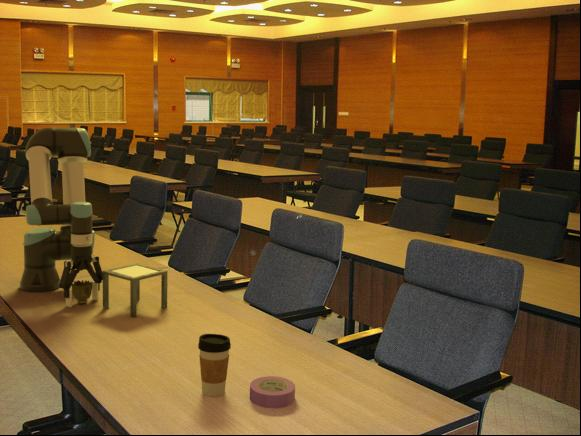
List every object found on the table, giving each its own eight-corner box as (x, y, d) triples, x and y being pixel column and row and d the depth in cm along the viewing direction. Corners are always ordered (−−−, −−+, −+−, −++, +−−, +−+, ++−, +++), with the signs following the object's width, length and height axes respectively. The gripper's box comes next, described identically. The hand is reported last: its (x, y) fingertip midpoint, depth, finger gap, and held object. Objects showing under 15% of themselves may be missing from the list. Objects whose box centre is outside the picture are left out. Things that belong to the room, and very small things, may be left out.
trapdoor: (111, 273, 243) (111, 270, 243) (136, 267, 253) (136, 265, 253) (133, 280, 237) (133, 277, 236) (159, 274, 246) (159, 271, 246)
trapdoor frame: (102, 308, 245) (102, 270, 243) (136, 299, 258) (137, 263, 256) (133, 317, 236) (133, 278, 234) (167, 307, 249) (167, 270, 247)
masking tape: (296, 409, 170) (297, 394, 170) (250, 408, 169) (250, 394, 169) (292, 389, 182) (293, 376, 181) (249, 389, 181) (249, 375, 180)
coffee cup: (198, 385, 182) (199, 331, 179) (229, 385, 182) (231, 332, 180) (196, 398, 173) (197, 342, 171) (229, 398, 174) (231, 343, 172)
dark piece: (86, 307, 246) (86, 285, 245) (67, 305, 247) (67, 284, 246) (96, 301, 253) (96, 280, 252) (78, 299, 254) (78, 279, 253)
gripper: (60, 251, 235) (61, 312, 238) (114, 241, 254) (114, 298, 257) (47, 247, 239) (48, 307, 243) (100, 239, 258) (101, 294, 262)
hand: (82, 303), depth 250 cm, fingers open, 11 cm apart
